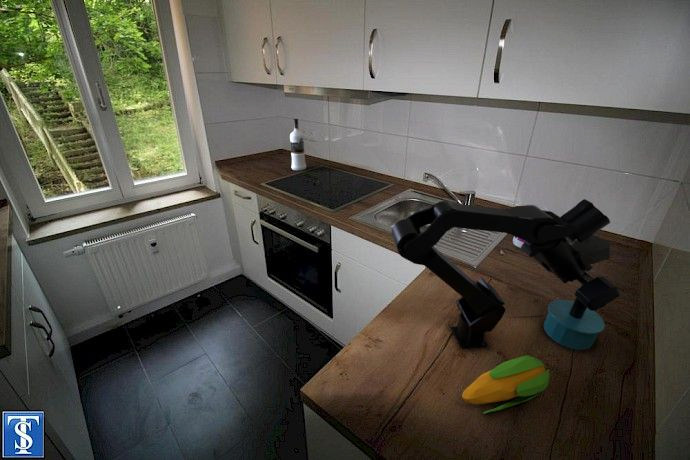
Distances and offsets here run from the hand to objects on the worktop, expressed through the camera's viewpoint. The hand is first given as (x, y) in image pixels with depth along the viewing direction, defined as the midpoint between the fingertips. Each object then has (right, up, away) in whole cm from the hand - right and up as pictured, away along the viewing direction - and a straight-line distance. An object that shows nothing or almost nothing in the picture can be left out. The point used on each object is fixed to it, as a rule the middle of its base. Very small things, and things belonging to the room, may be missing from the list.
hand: (587, 292), depth 71 cm
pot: (0, -11, +6) cm, 13 cm away
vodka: (-84, +53, +125) cm, 160 cm away
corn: (-24, -19, -9) cm, 32 cm away
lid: (0, -6, +3) cm, 7 cm away
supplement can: (+11, +8, +43) cm, 45 cm away
